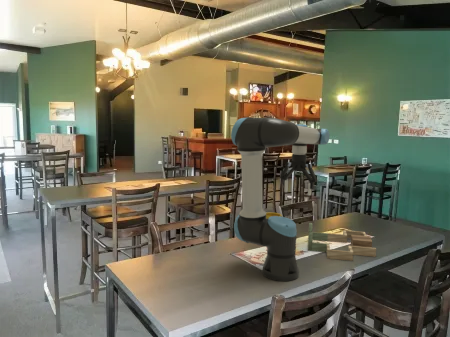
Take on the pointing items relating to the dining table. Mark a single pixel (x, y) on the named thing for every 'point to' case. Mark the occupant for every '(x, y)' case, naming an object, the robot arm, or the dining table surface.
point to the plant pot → (272, 214)
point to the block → (361, 241)
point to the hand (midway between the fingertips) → (297, 193)
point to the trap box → (338, 238)
